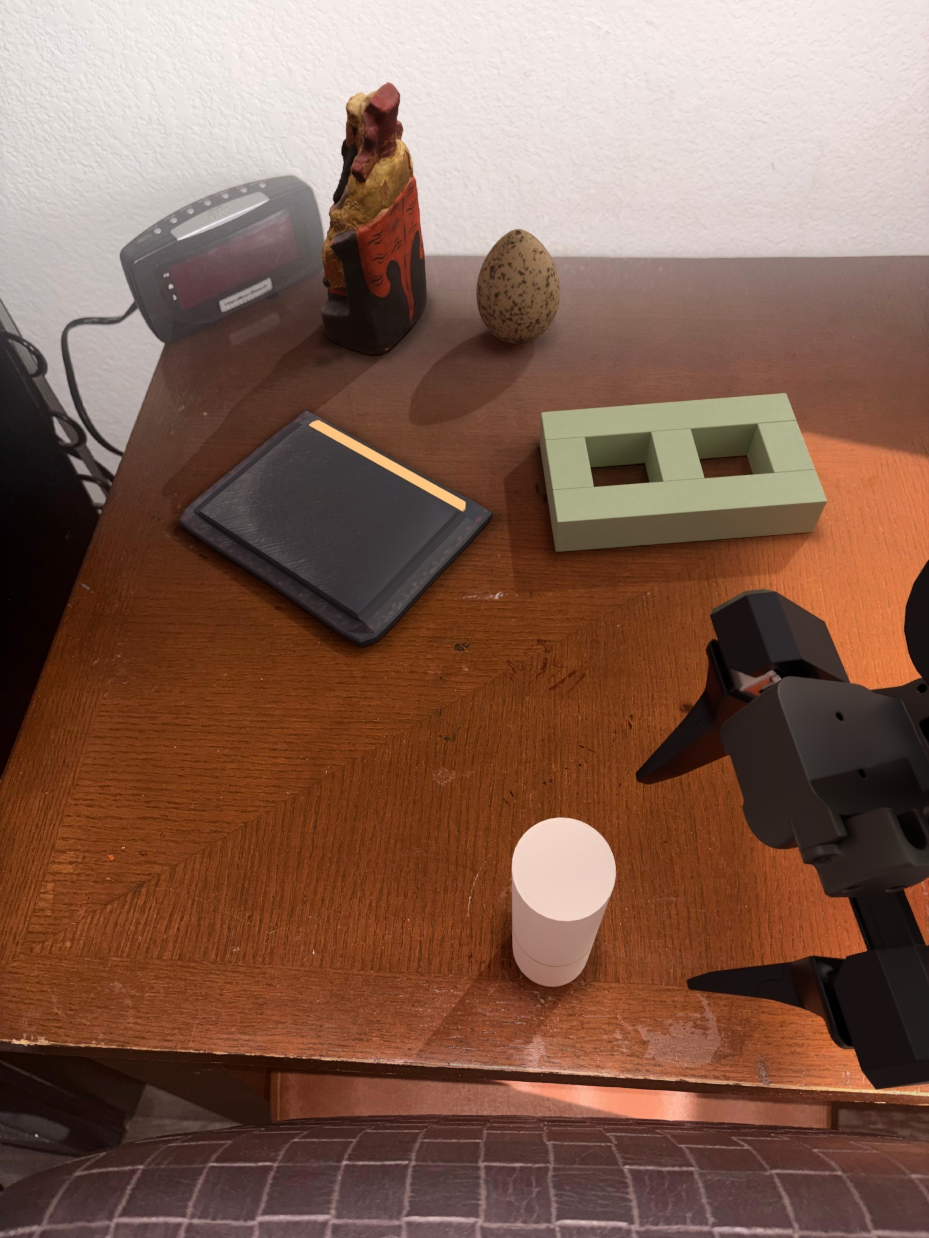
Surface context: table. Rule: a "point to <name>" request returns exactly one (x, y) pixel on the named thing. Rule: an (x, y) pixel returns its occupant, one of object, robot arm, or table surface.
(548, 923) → the tube
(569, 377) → the table surface
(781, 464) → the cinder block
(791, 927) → the table surface
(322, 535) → the wallet
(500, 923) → the table surface
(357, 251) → the statue
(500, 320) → the decorative egg
